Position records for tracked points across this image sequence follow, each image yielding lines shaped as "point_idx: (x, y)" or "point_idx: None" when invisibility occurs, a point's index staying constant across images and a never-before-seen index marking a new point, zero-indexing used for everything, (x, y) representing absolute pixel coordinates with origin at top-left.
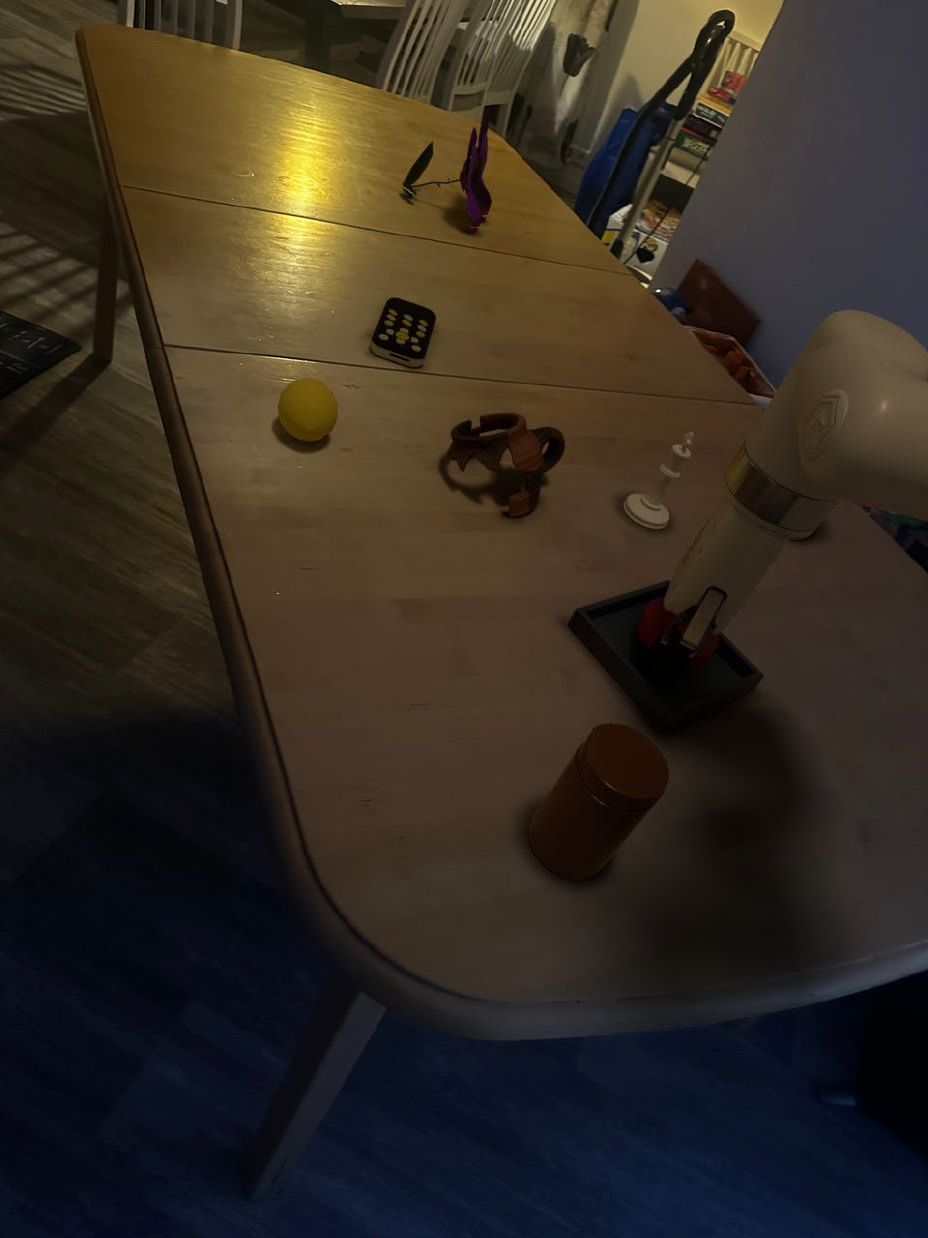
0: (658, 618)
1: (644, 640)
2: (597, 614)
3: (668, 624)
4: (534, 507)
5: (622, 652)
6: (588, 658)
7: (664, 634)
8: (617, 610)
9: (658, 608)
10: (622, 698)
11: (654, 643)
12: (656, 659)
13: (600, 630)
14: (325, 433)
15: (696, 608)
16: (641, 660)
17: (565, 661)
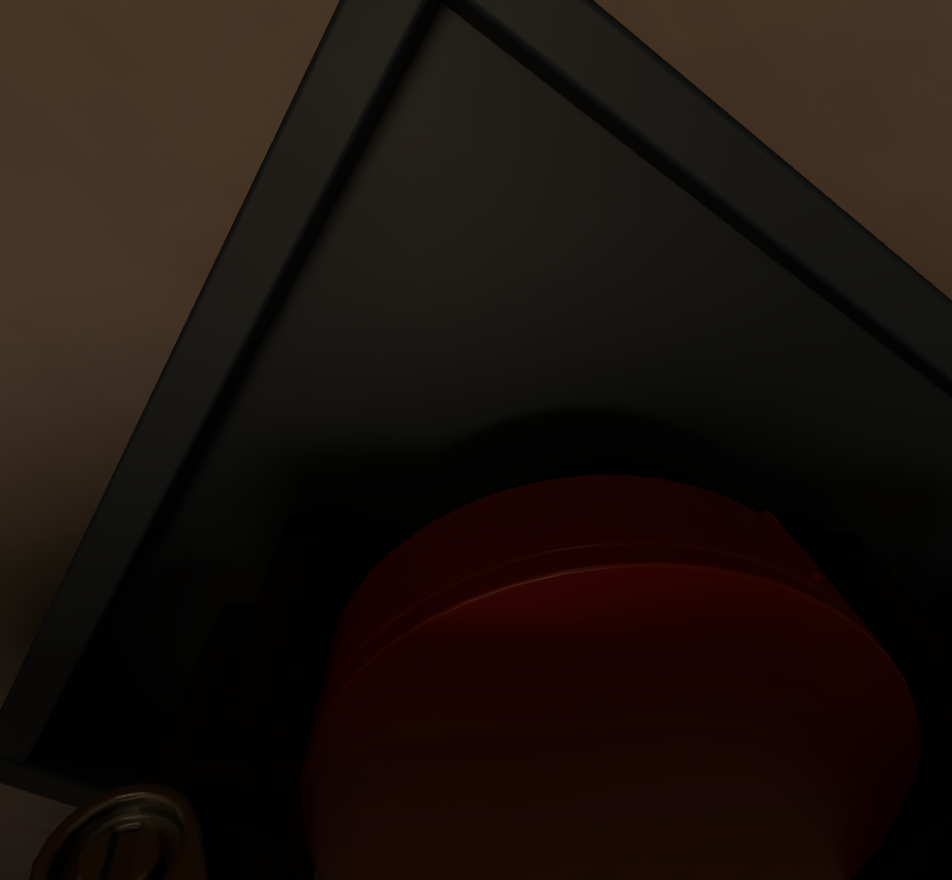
0: (570, 671)
1: (392, 561)
2: (611, 130)
3: (548, 741)
4: None
5: (395, 398)
6: (213, 198)
7: (176, 850)
8: (789, 272)
9: (705, 651)
10: (83, 469)
11: (216, 702)
12: (189, 688)
13: (299, 208)
14: None
15: (877, 851)
16: (314, 539)
17: (29, 36)
